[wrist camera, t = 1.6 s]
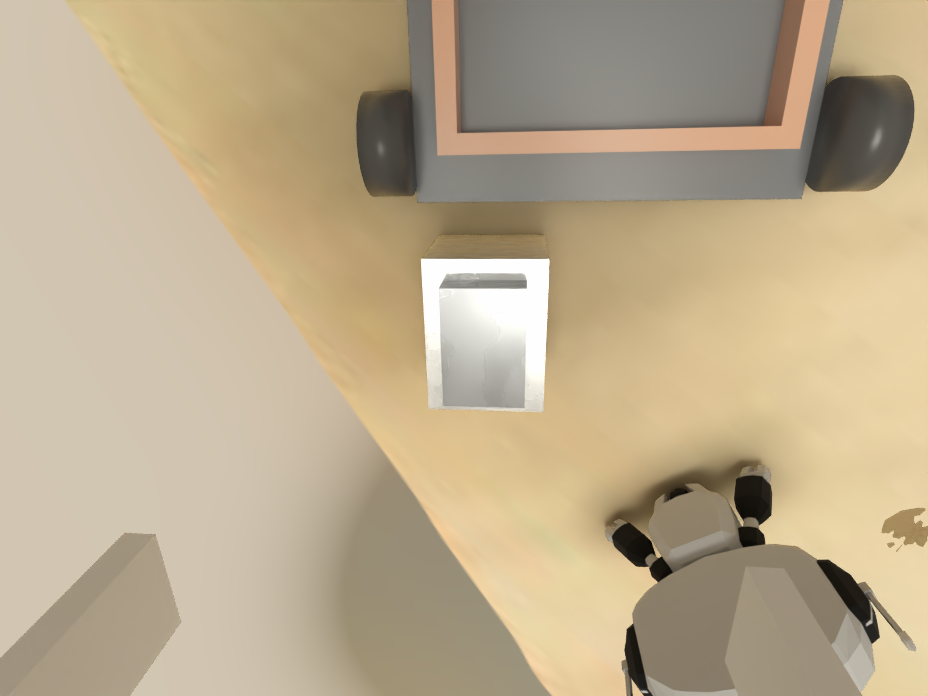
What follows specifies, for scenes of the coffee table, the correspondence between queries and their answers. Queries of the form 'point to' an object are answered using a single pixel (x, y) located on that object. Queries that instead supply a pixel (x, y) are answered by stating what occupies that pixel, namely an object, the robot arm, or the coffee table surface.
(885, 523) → the toy pieces
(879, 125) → the chassis
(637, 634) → the robot toy
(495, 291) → the block
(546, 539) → the coffee table surface
